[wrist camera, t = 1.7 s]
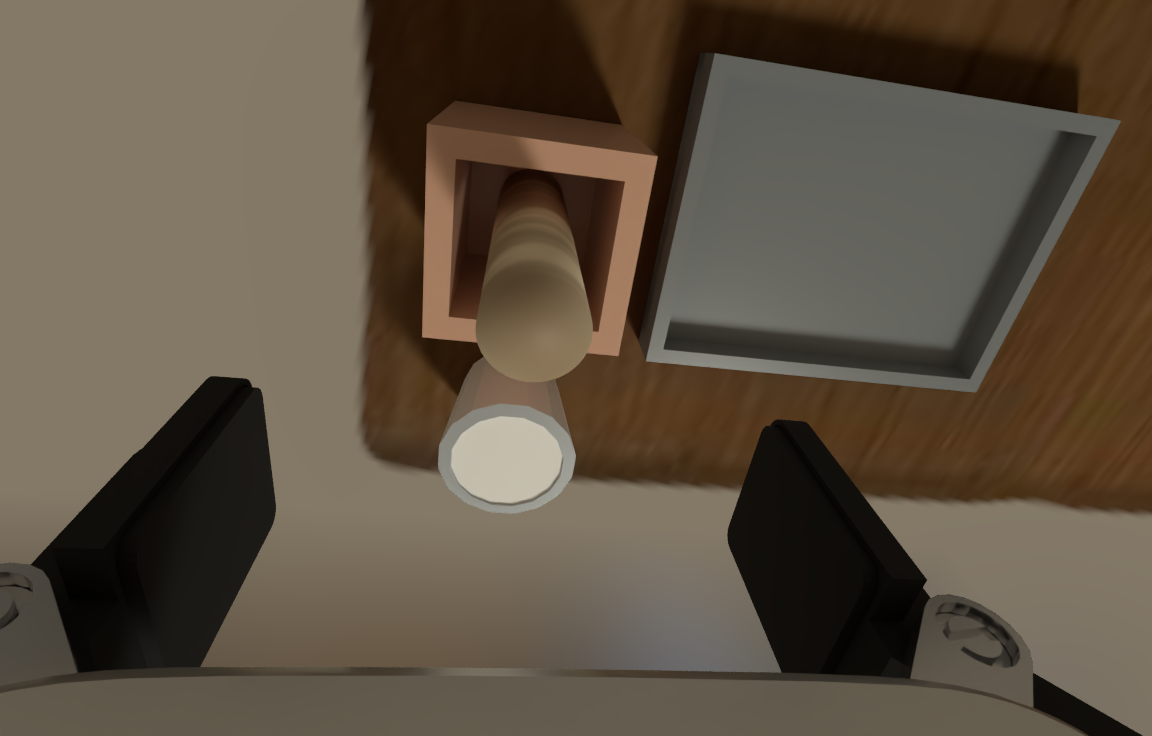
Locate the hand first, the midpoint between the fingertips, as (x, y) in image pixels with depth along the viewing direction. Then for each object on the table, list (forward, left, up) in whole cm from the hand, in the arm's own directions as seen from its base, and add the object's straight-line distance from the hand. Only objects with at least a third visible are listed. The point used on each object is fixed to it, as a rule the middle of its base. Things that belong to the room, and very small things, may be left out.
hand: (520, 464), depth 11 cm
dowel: (0, 0, -21) cm, 21 cm away
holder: (0, 0, -22) cm, 22 cm away
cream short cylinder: (+9, +6, -22) cm, 25 cm away
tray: (-9, +15, -22) cm, 28 cm away
